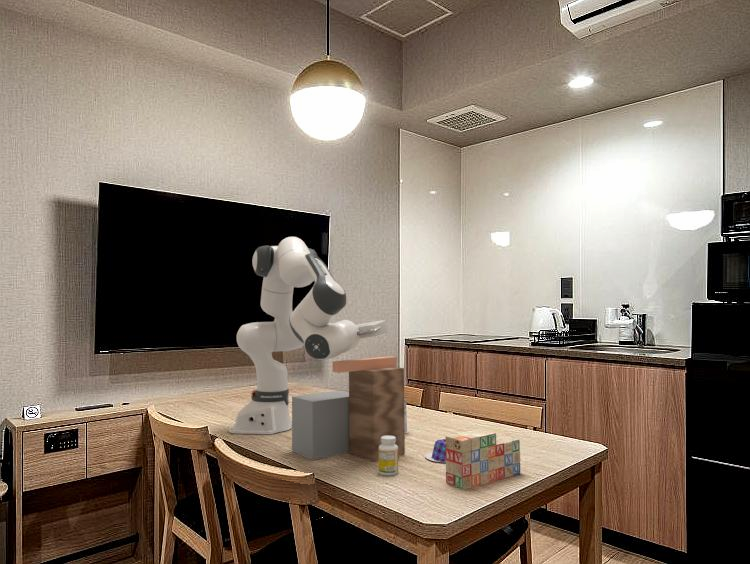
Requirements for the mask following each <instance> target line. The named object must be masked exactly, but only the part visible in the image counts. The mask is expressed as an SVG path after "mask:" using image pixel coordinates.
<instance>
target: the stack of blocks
mask: <svg viewBox="0 0 750 564" xmlns="http://www.w3.org/2000/svg"><path fill="white" fill-rule="evenodd" d="M445 439H446V448H445V457H446V462H445V484H448V485H449V486H452V487H455V488H457V489H460V490H467V489H470V488H475V487H477V486H481V485H485V484H488V483H489V484H490V483H492V482H495V481H499V480H502V479H506V478H509V477H513V476H516V475H517V476H518V475H521V447H520V446H521V445H520V443H521V442H520V439H519V438H515V437H511V436H506V435H504V434H503V435H498V436H497V433H496V432H493V431H490V430H489V431H488V430H484V429H481V428H480V429H479V428H477V429H473V430H468V431H462V432H459V433H455V434H449V435H446V436H445Z"/></svg>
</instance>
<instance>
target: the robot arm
mask: <svg viewBox="0 0 750 564" xmlns="http://www.w3.org/2000/svg"><path fill="white" fill-rule="evenodd" d="M251 262H252V267H253V271H254V273H255V274H256V276H259V277H263V278H262V279H263V280H262V286H261V295H260V307H261V309H262V311H263V312H265V313H266V315H268V316H269V315H270V316H271V317H273V318H274V319H273V321H260V322H259V321H256V322H249V323H245V324H242V325H241V326H240V327H239V329H238V331H237V333H236V343H237V346H238V347H239V349H240V350H241V351H242V352H244V353H245V354H246V355H247V356H248V357H249V358H250V360H251V361H252V362H253V364H254V367H255V371H256V373H255V375H256V388H255V389H253V390H252V391H251V396H250V397H251V400H250V402H248V403H247V404H246V405H244V406H243V407H242V408H241V409H239V411H238V412H237V414H236V417H235V423H233V424H232V425H230V426H229V428H228V432H229V433H230V434H238V435H239V434H244V435H248V434H249V435H273V434H277V433H281V432H286V431H288V430H289V431H290V430H292V420H291V416H290V410H289V409H290V408H289V404H290V390H289V388H288V382H289V381H288V375H289V374H288V368H287V367H286V365H285V364H284V363H282V362H280V361H278V360H276V359H274V358H273V352H290V351H294V350H299V349H302V348H303V347H304V351H305V353H307V355H308V356H309V357H310V358H312V359H314V360H318V361H326V360H330V359H333V358H335V357H337V356H340V355H342V354H344V353H347V352H349V351H351V350H353V349H355V348H356V347H357V346H358V344H359V343H360V340H361V339H365V338H372V337H376V336H380V335H382V334H385V333H387V332H388V325H387V322H386V320H384V319H383V320H382V319H381V320H376V321H371V322H370V321H369V322H364V323H358V324H355V323H354V322H353V321H351V320H349V319H342V320H338V321H336V322H333V323H332V322H331V321H332V320H333V319H334V317H335V316H336V315H337V314H338V313H340V312H341V311H342V310H343V309H344V308H345V307H346V305H347V294H346V291H345V289H344V288H343V287H342V285H340V283H339V282H338V281H337V280H336V278H335V277H334V276H333V274H332V272H331V271H330V269H329V268H328V266H327V265H326V264H325V262H324V261H323V260H322V259H321V258H320V257H319V256H318V254H317V252H316V251H315V249H312V248H309V247H308V246H307V245H306V243H305V241H303V240H302V239H301V238H299V237H297V236H288V237H285V238H284V239H282V240H281V241H280V242H279V243H278V245H268V244H267V245H261V246H259V247H257V248H256V249H255V251H254V253H253V256H252V261H251ZM313 282H314V284H313V286H312V287H311V289H310V290H309V292H308V293H307V294H306V295H305V297H303V299H302V300H300V303H298V304H297V306H296V307H295V308H294V310H293V295H294V288H304V287H307V286H310V285H311V284H312V283H313Z"/></svg>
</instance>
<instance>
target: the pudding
mask: <svg viewBox="0 0 750 564" xmlns="http://www.w3.org/2000/svg"><path fill="white" fill-rule="evenodd" d="M434 442H435V443H434V445H433V448H432V449H433V450H432V451H431V452H430V451H429V452H428V453H426V454H425V455H424V457H425V458H426V459H427V460H429V461H431V462H432V461H433V462H437V463H446V457H445V448H446V438H441V439H437V440H436V441H434ZM431 456H432V457H431Z"/></svg>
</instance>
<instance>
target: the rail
mask: <svg viewBox="0 0 750 564" xmlns="http://www.w3.org/2000/svg"><path fill="white" fill-rule="evenodd" d="M397 359H398V357H397V356H392V355H390V356H379V357H368V358H356V359H355V358H354V359H347V360H346V359H345V360H333V361H332V373H338V374H340V373H349V372H351V371H360V370H370V369H379V368H389V367H397V366H398V361H397Z"/></svg>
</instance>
